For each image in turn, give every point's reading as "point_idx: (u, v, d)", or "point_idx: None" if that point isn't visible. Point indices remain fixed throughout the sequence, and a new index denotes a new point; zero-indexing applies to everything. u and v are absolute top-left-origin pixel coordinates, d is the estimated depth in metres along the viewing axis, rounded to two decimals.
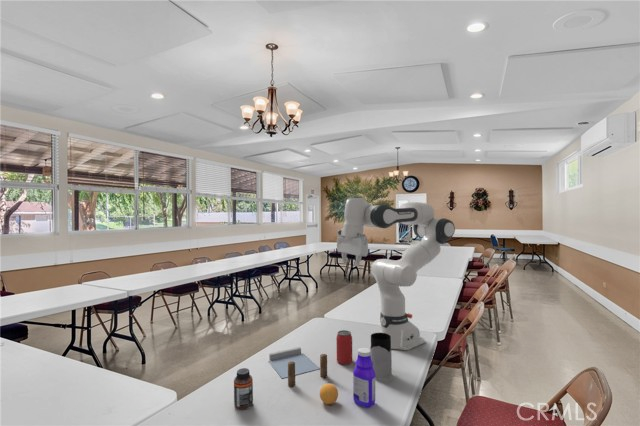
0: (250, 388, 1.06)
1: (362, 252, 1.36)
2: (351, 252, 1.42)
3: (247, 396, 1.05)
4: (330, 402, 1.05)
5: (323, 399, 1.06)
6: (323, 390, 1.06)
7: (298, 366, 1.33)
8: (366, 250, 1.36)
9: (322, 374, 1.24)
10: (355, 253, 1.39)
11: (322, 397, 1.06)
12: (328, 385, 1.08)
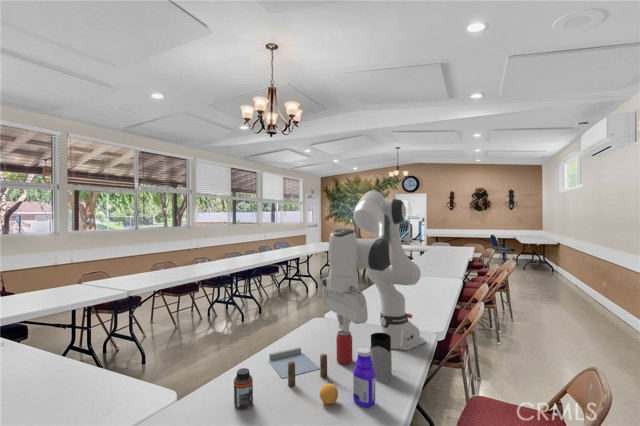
0: (250, 388, 1.06)
1: (359, 318, 0.90)
2: (343, 315, 0.96)
3: (247, 396, 1.05)
4: (330, 402, 1.05)
5: (323, 399, 1.06)
6: (323, 390, 1.06)
7: (298, 366, 1.33)
8: (365, 314, 0.90)
9: (322, 374, 1.24)
10: (349, 318, 0.93)
11: (322, 397, 1.06)
12: (328, 385, 1.08)
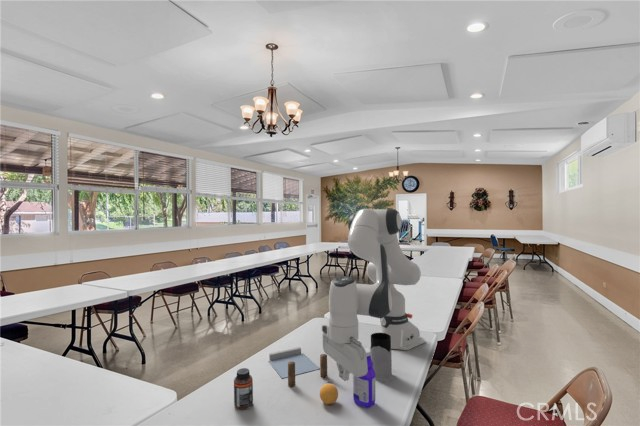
0: (250, 388, 1.06)
1: (359, 372, 0.89)
2: (343, 365, 0.95)
3: (247, 396, 1.05)
4: (330, 402, 1.05)
5: (323, 399, 1.06)
6: (323, 390, 1.06)
7: (298, 366, 1.33)
8: (365, 367, 0.90)
9: (322, 374, 1.24)
10: (349, 370, 0.93)
11: (322, 397, 1.06)
12: (328, 385, 1.08)
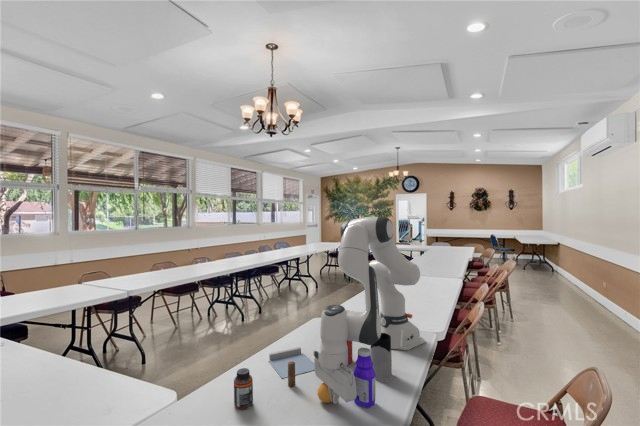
0: (250, 388, 1.06)
1: (349, 397, 0.96)
2: (334, 389, 1.02)
3: (247, 396, 1.05)
4: (328, 398, 1.06)
5: (321, 396, 1.07)
6: (319, 388, 1.08)
7: (298, 366, 1.33)
8: (354, 392, 0.97)
9: None
10: (339, 395, 0.99)
11: (319, 395, 1.07)
12: None
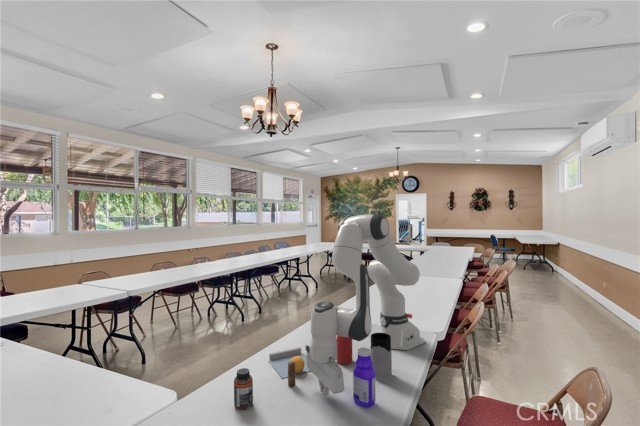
0: (250, 388, 1.06)
1: (336, 389, 1.01)
2: (323, 382, 1.07)
3: (247, 396, 1.05)
4: (297, 364, 1.26)
5: None
6: (290, 360, 1.29)
7: None
8: (341, 385, 1.02)
9: None
10: (328, 387, 1.04)
11: None
12: None
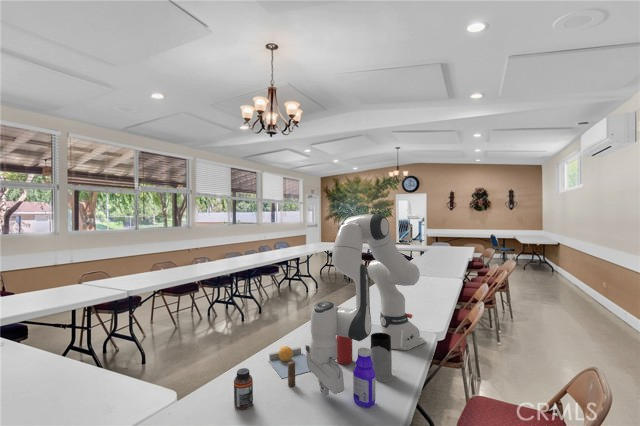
0: (250, 388, 1.06)
1: (336, 389, 1.01)
2: (323, 382, 1.07)
3: (247, 396, 1.05)
4: None
5: (279, 356, 1.38)
6: (282, 357, 1.36)
7: (298, 366, 1.33)
8: (341, 385, 1.02)
9: None
10: (328, 387, 1.04)
11: (279, 356, 1.37)
12: (287, 356, 1.36)
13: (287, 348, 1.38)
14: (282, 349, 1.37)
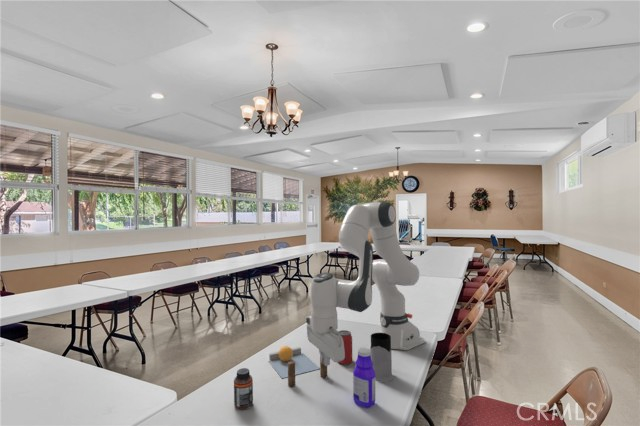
0: (250, 388, 1.06)
1: (337, 358, 1.01)
2: (324, 352, 1.07)
3: (247, 396, 1.05)
4: None
5: (279, 356, 1.38)
6: (282, 357, 1.36)
7: (298, 366, 1.33)
8: (342, 353, 1.02)
9: (322, 374, 1.24)
10: (329, 356, 1.04)
11: (279, 356, 1.37)
12: (287, 356, 1.36)
13: (287, 348, 1.38)
14: (282, 349, 1.37)
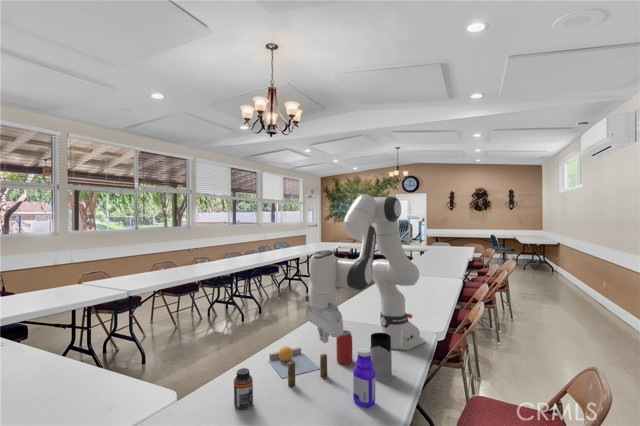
0: (250, 388, 1.06)
1: (335, 332, 1.01)
2: (322, 328, 1.07)
3: (247, 396, 1.05)
4: None
5: (279, 356, 1.38)
6: (282, 357, 1.36)
7: (298, 366, 1.33)
8: (341, 328, 1.02)
9: (322, 374, 1.24)
10: (327, 332, 1.04)
11: (279, 356, 1.37)
12: (287, 356, 1.36)
13: (287, 348, 1.38)
14: (282, 349, 1.37)
